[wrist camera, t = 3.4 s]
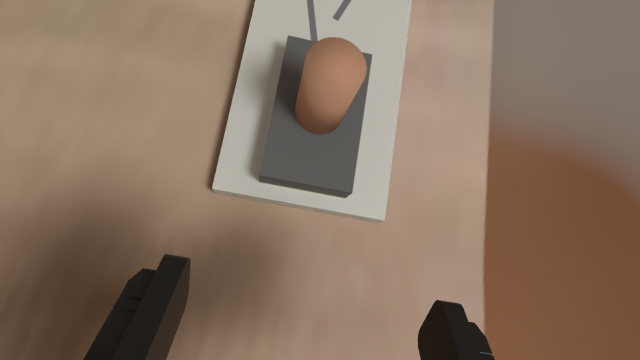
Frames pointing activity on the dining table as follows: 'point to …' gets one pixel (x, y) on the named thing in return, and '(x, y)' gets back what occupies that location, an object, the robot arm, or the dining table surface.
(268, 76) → the marked board
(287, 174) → the sanding block
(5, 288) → the dining table surface
